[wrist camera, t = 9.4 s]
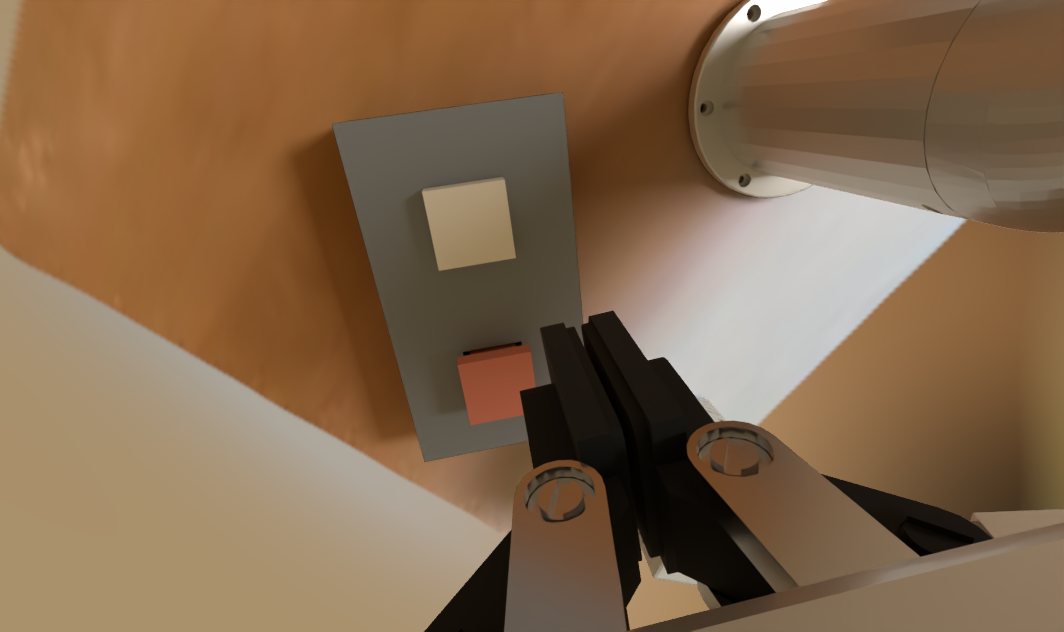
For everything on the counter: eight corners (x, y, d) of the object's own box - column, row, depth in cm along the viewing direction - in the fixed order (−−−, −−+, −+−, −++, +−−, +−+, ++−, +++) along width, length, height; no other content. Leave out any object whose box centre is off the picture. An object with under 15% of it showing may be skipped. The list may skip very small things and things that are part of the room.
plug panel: (548, 93, 29) (562, 92, 26) (579, 397, 39) (592, 428, 35) (346, 121, 28) (332, 124, 25) (426, 427, 37) (424, 461, 34)
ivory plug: (497, 170, 30) (504, 179, 26) (508, 240, 31) (516, 258, 28) (425, 180, 29) (421, 191, 26) (440, 251, 31) (438, 270, 27)
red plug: (521, 324, 33) (530, 351, 29) (529, 379, 35) (539, 412, 31) (456, 336, 32) (457, 365, 29) (468, 391, 34) (470, 425, 31)
